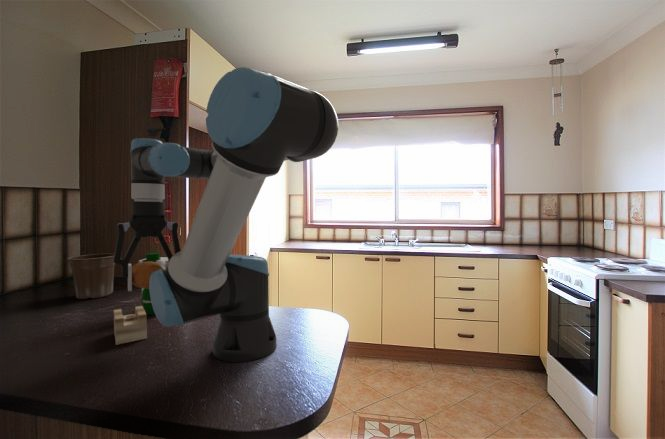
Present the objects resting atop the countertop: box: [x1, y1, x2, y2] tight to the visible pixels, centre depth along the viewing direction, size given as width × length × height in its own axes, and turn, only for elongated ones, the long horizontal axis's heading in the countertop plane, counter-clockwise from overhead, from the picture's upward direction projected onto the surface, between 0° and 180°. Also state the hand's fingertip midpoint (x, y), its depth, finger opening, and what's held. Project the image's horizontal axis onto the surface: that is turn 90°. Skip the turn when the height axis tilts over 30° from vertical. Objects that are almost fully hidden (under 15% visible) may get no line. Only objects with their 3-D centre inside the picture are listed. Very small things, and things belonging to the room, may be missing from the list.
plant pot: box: [67, 253, 116, 300], centre depth 134 cm, size 16×16×16 cm
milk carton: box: [138, 252, 168, 315], centre depth 112 cm, size 9×9×20 cm
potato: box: [132, 261, 164, 289], centre depth 86 cm, size 7×13×7 cm, turn 51°
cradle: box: [113, 305, 148, 346], centre depth 90 cm, size 10×7×6 cm
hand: (149, 287), depth 86 cm, fingers closed on potato, 8 cm apart
